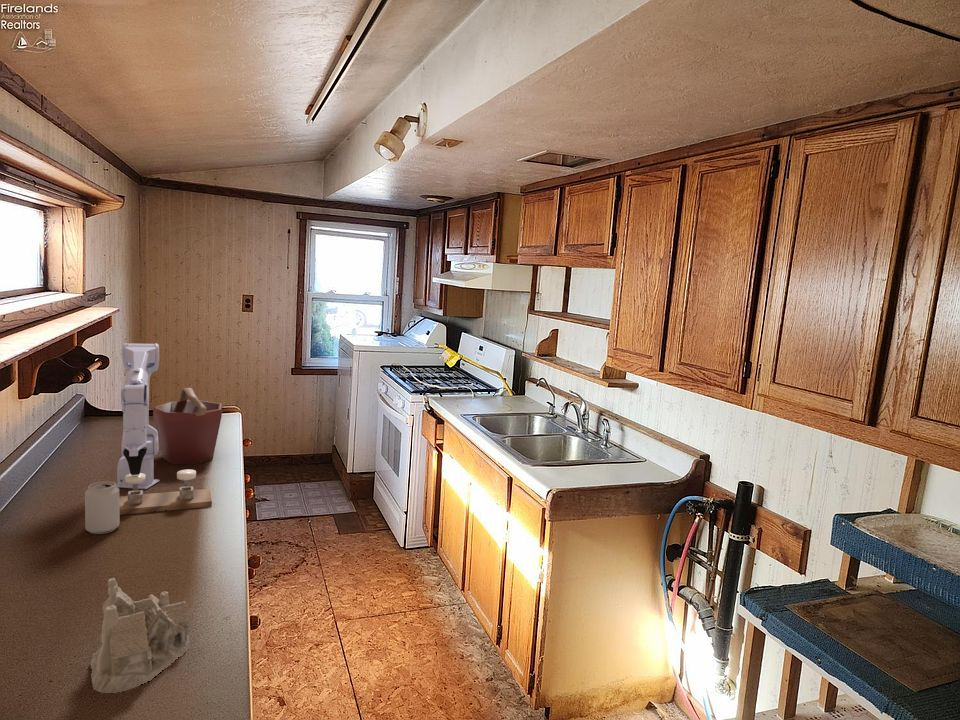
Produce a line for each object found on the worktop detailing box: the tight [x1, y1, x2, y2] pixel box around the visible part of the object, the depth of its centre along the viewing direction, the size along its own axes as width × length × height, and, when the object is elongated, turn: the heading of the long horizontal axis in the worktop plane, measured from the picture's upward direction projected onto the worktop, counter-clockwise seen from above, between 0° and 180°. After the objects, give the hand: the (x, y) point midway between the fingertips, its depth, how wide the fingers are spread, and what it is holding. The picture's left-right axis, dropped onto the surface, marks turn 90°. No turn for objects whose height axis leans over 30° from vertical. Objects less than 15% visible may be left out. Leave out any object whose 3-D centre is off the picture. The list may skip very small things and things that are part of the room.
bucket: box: [152, 387, 223, 465], centre depth 218 cm, size 24×22×25 cm
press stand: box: [119, 485, 213, 516], centre depth 176 cm, size 26×11×4 cm, turn 116°
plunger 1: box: [125, 473, 146, 491], centre depth 173 cm, size 5×5×4 cm
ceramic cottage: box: [90, 577, 192, 694], centre depth 107 cm, size 16×16×15 cm
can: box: [84, 480, 121, 535], centre depth 157 cm, size 8×8×12 cm
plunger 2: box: [176, 469, 197, 487], centre depth 178 cm, size 5×5×4 cm
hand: (135, 474), depth 172 cm, fingers closed
